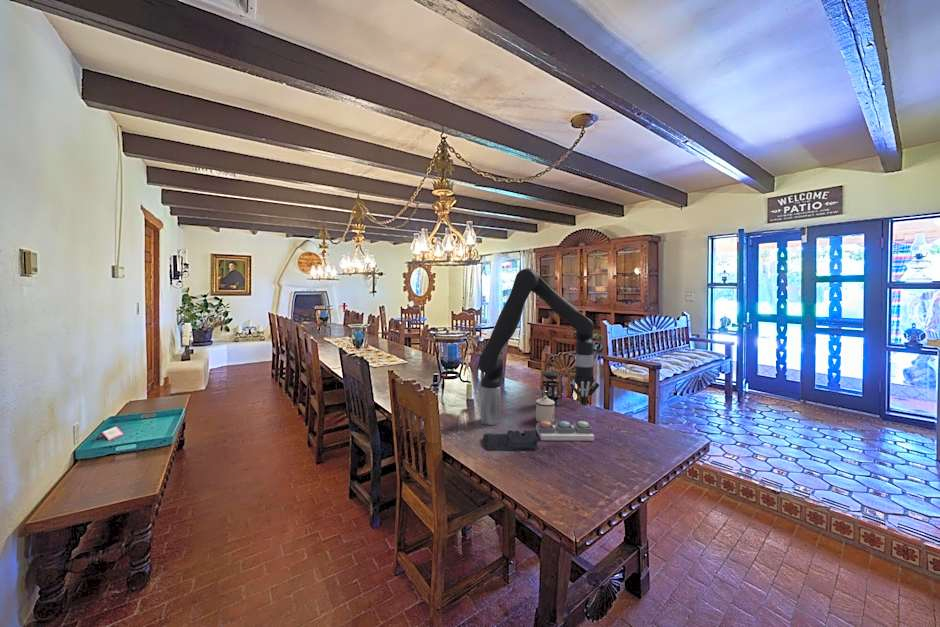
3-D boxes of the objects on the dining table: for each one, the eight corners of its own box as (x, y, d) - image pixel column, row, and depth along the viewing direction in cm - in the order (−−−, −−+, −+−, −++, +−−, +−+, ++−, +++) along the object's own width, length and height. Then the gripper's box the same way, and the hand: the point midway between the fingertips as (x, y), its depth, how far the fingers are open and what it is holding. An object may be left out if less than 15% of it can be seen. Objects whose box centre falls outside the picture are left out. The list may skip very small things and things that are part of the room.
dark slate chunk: (481, 436, 160) (481, 426, 160) (532, 436, 161) (533, 425, 161) (484, 452, 145) (484, 440, 145) (540, 452, 146) (541, 440, 145)
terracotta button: (541, 429, 159) (541, 424, 159) (539, 425, 164) (539, 420, 164) (551, 429, 159) (551, 424, 159) (549, 425, 164) (549, 420, 164)
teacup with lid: (557, 423, 175) (557, 398, 174) (538, 423, 174) (538, 399, 173) (549, 414, 187) (549, 391, 186) (531, 415, 186) (532, 392, 185)
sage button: (579, 429, 159) (579, 424, 159) (576, 425, 164) (576, 421, 163) (589, 429, 159) (589, 424, 159) (586, 425, 164) (586, 421, 163)
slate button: (560, 429, 159) (560, 424, 159) (557, 425, 164) (558, 420, 163) (570, 429, 159) (570, 424, 159) (568, 425, 164) (568, 420, 163)
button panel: (540, 440, 156) (540, 430, 155) (535, 429, 168) (535, 420, 167) (594, 440, 156) (594, 431, 155) (585, 429, 168) (586, 420, 167)
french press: (543, 407, 198) (543, 364, 196) (537, 402, 207) (538, 361, 206) (564, 406, 200) (565, 364, 198) (557, 401, 209) (558, 360, 207)
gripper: (570, 366, 156) (570, 407, 157) (602, 366, 156) (602, 407, 157) (566, 362, 163) (566, 402, 164) (596, 362, 163) (596, 402, 164)
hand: (583, 404), depth 160 cm, fingers closed
